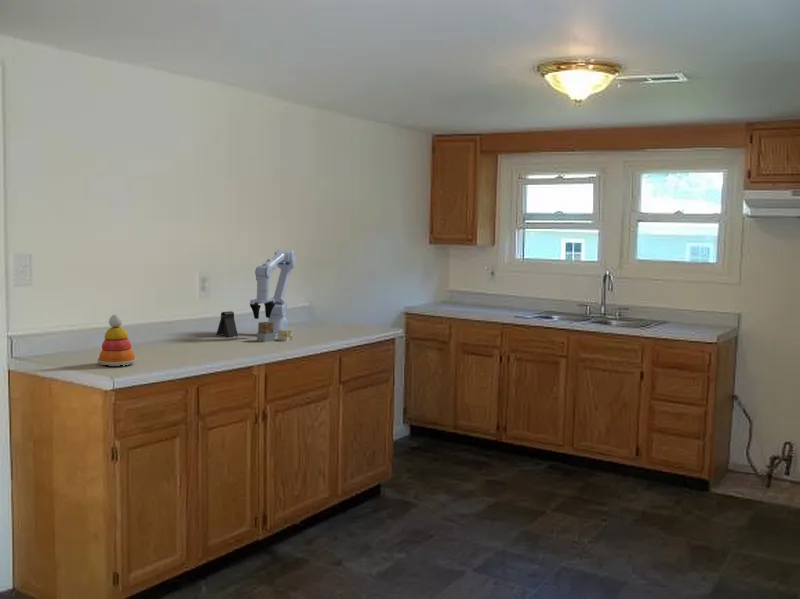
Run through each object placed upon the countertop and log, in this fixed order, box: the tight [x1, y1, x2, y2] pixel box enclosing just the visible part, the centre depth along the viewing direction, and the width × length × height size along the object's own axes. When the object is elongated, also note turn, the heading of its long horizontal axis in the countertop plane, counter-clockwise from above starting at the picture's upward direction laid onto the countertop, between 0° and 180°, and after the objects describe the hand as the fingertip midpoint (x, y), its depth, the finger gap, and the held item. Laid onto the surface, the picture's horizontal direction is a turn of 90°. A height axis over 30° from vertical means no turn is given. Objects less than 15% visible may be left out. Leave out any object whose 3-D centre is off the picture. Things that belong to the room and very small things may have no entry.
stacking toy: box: [97, 314, 137, 367], centre depth 309 cm, size 14×14×20 cm
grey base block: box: [256, 332, 276, 343], centre depth 385 cm, size 6×6×4 cm
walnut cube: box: [257, 321, 273, 334], centre depth 385 cm, size 5×5×5 cm
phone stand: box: [215, 310, 239, 338], centre depth 395 cm, size 9×6×12 cm, turn 55°
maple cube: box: [277, 328, 293, 342], centre depth 390 cm, size 5×5×5 cm
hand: (262, 318), depth 392 cm, fingers open, 7 cm apart
